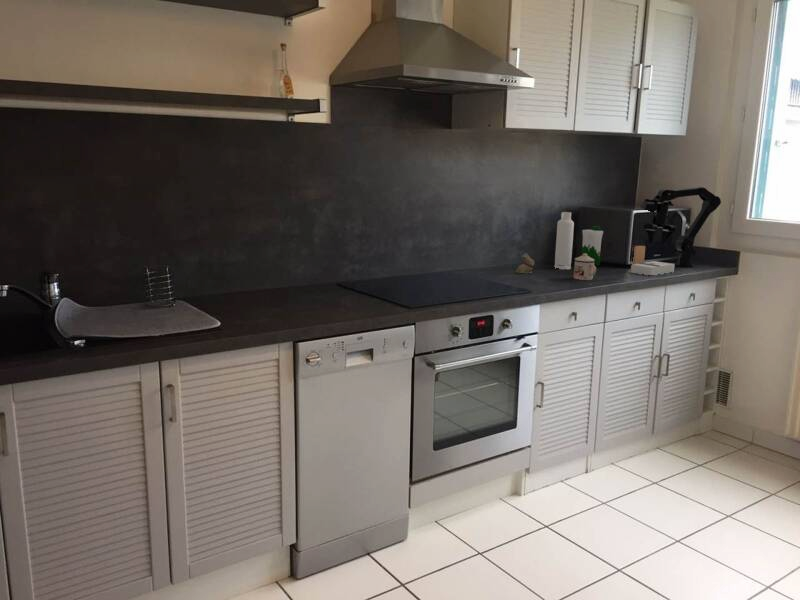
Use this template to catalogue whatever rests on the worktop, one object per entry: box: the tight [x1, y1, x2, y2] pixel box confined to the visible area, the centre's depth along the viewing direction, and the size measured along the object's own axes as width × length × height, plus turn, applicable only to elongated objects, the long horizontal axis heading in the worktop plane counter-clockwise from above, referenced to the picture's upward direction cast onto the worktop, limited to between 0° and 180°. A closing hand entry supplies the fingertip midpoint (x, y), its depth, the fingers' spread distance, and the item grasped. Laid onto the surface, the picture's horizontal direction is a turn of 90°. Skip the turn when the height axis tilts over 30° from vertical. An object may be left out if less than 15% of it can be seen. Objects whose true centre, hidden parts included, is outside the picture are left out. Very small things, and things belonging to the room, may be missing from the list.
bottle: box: [554, 211, 575, 270], centre depth 325 cm, size 8×8×28 cm
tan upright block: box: [633, 245, 646, 264], centre depth 333 cm, size 6×2×11 cm, turn 113°
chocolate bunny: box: [515, 252, 535, 274], centre depth 311 cm, size 6×8×10 cm
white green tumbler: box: [581, 225, 604, 266], centre depth 339 cm, size 9×9×20 cm
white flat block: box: [630, 261, 676, 276], centre depth 320 cm, size 20×11×4 cm, turn 127°
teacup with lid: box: [573, 253, 597, 281], centre depth 298 cm, size 12×9×12 cm
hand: (656, 243), depth 337 cm, fingers open, 9 cm apart
